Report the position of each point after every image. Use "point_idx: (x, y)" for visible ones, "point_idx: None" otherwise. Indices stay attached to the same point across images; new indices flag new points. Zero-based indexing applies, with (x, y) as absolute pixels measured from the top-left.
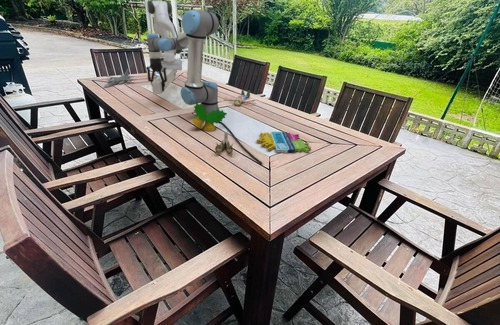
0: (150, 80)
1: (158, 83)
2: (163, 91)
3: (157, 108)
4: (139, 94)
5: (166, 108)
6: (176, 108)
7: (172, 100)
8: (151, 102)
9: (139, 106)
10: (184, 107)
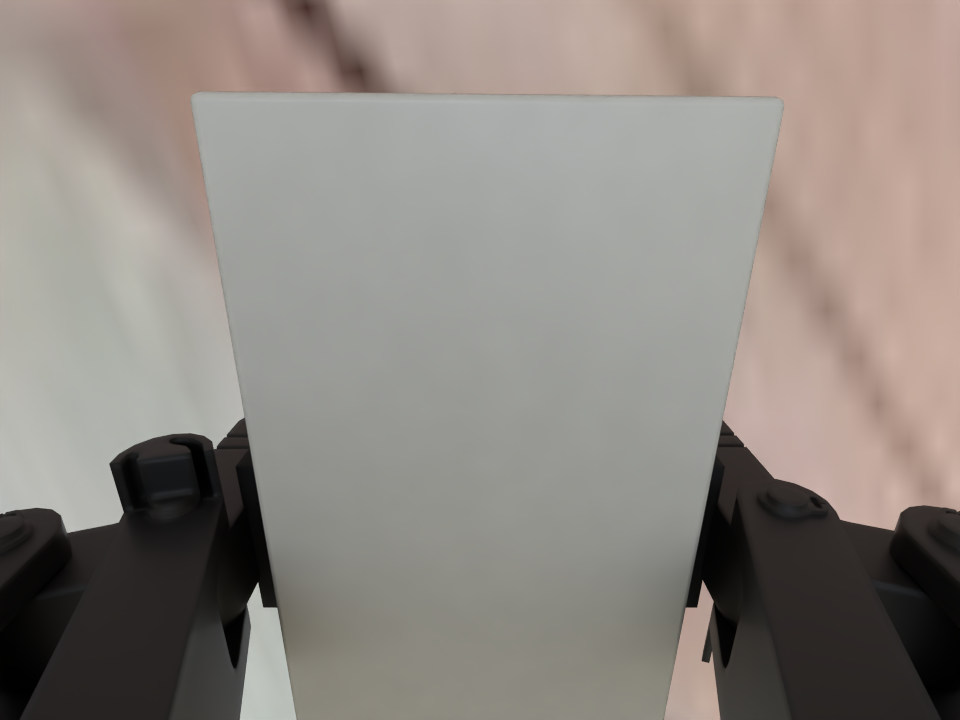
0: (868, 561)
1: (303, 93)
2: None
3: (490, 63)
4: None
5: (331, 86)
6: (157, 110)
7: None
8: None
9: (823, 149)
10: (47, 190)
